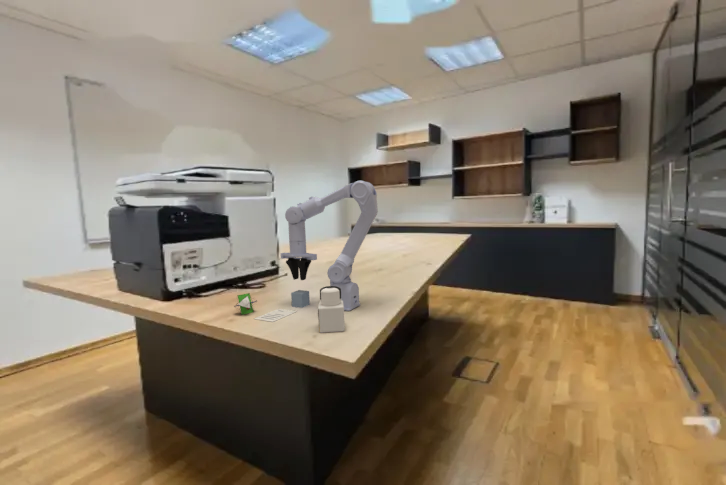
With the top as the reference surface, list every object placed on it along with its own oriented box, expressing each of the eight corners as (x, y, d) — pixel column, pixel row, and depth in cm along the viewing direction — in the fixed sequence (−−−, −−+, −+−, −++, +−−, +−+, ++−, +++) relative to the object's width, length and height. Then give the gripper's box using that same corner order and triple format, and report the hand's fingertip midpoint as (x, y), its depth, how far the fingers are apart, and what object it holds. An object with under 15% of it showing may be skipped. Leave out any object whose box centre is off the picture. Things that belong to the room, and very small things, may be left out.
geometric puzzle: (230, 305, 125) (233, 289, 121) (249, 301, 129) (253, 286, 125) (237, 321, 121) (241, 305, 117) (256, 317, 125) (261, 301, 121)
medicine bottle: (319, 324, 109) (318, 285, 107) (343, 323, 109) (342, 283, 108) (319, 333, 101) (317, 290, 100) (344, 331, 102) (343, 289, 101)
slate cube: (309, 304, 131) (309, 291, 131) (302, 308, 127) (301, 293, 127) (299, 303, 133) (299, 289, 133) (291, 306, 130) (291, 292, 129)
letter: (297, 311, 123) (297, 311, 123) (272, 322, 113) (272, 321, 113) (278, 308, 127) (278, 308, 127) (253, 318, 116) (253, 318, 116)
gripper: (273, 242, 128) (276, 280, 129) (307, 242, 121) (309, 283, 122) (287, 239, 134) (289, 276, 135) (319, 240, 127) (321, 279, 129)
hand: (299, 279), depth 129 cm, fingers open, 3 cm apart
